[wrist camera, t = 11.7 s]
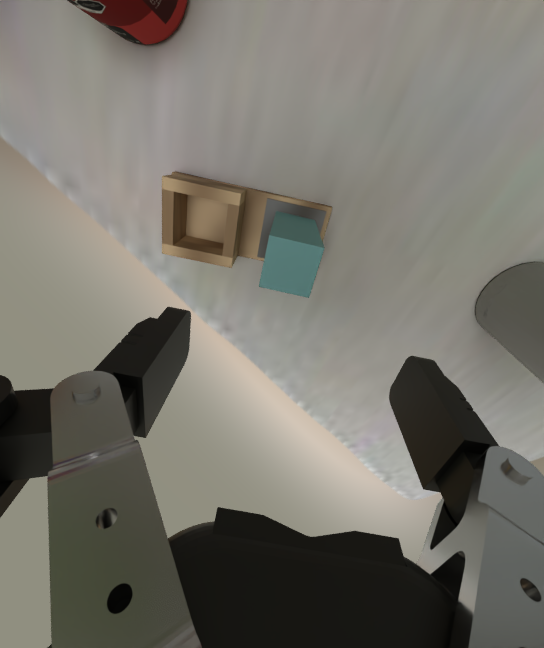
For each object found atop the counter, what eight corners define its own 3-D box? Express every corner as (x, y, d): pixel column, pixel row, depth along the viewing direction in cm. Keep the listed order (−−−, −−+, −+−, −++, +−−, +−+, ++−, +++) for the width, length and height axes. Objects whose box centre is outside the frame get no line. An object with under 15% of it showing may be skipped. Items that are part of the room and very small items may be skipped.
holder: (331, 206, 29) (337, 215, 25) (313, 268, 33) (316, 285, 29) (175, 171, 29) (155, 174, 24) (174, 239, 32) (155, 252, 28)
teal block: (314, 220, 29) (324, 248, 20) (304, 257, 31) (308, 297, 22) (276, 211, 29) (269, 235, 20) (268, 249, 31) (258, 286, 22)
